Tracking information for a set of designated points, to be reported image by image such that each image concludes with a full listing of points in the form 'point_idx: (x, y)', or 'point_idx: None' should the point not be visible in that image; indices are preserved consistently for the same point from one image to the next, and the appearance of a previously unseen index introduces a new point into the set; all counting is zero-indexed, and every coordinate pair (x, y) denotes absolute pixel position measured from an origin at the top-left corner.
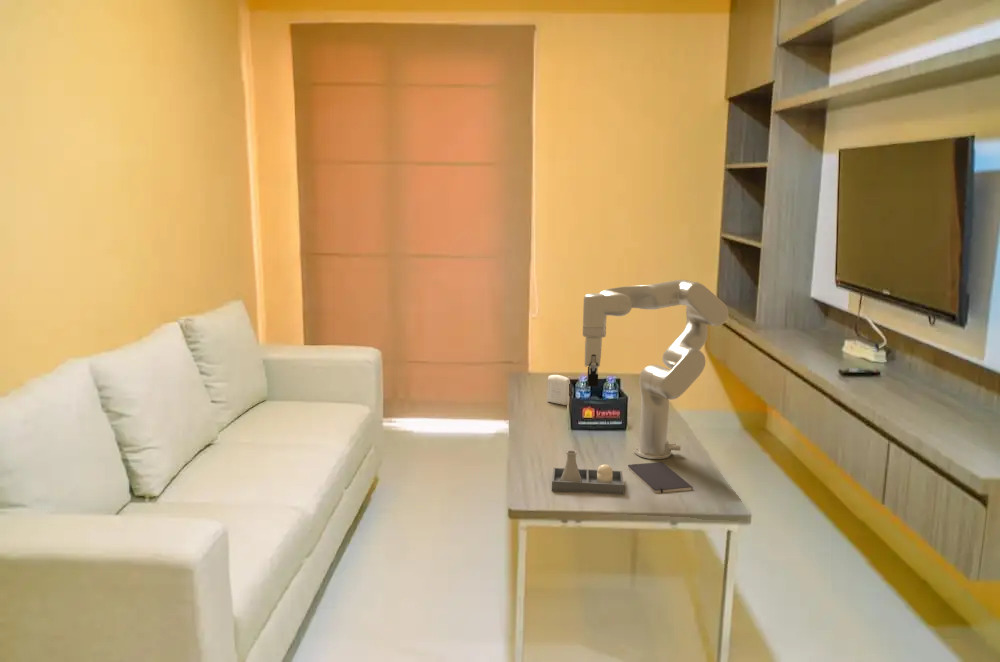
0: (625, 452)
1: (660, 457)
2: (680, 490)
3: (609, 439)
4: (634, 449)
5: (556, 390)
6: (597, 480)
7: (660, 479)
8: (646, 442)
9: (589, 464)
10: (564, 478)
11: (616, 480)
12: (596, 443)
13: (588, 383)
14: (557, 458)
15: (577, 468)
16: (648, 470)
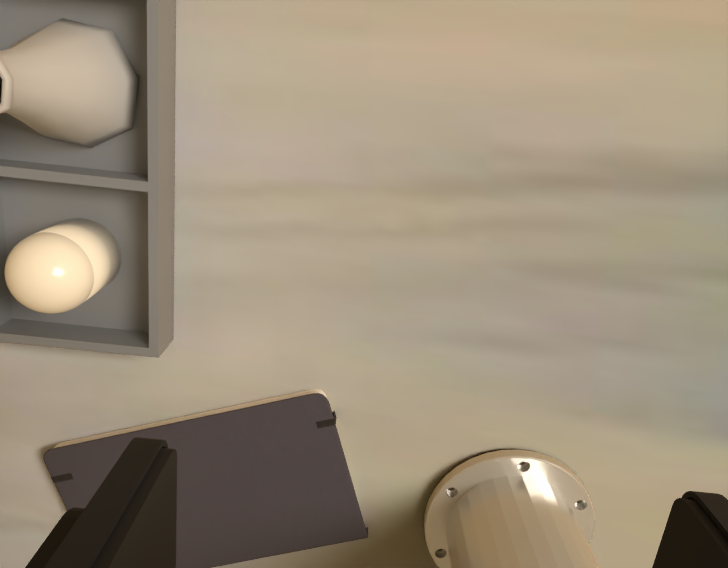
0: (525, 409)
1: (426, 541)
2: None
3: (723, 362)
4: (525, 456)
5: None
6: (56, 224)
7: None
8: (472, 534)
9: (361, 214)
10: (18, 42)
11: (137, 315)
12: (671, 288)
13: (121, 466)
14: (451, 39)
15: (35, 122)
16: (260, 468)
